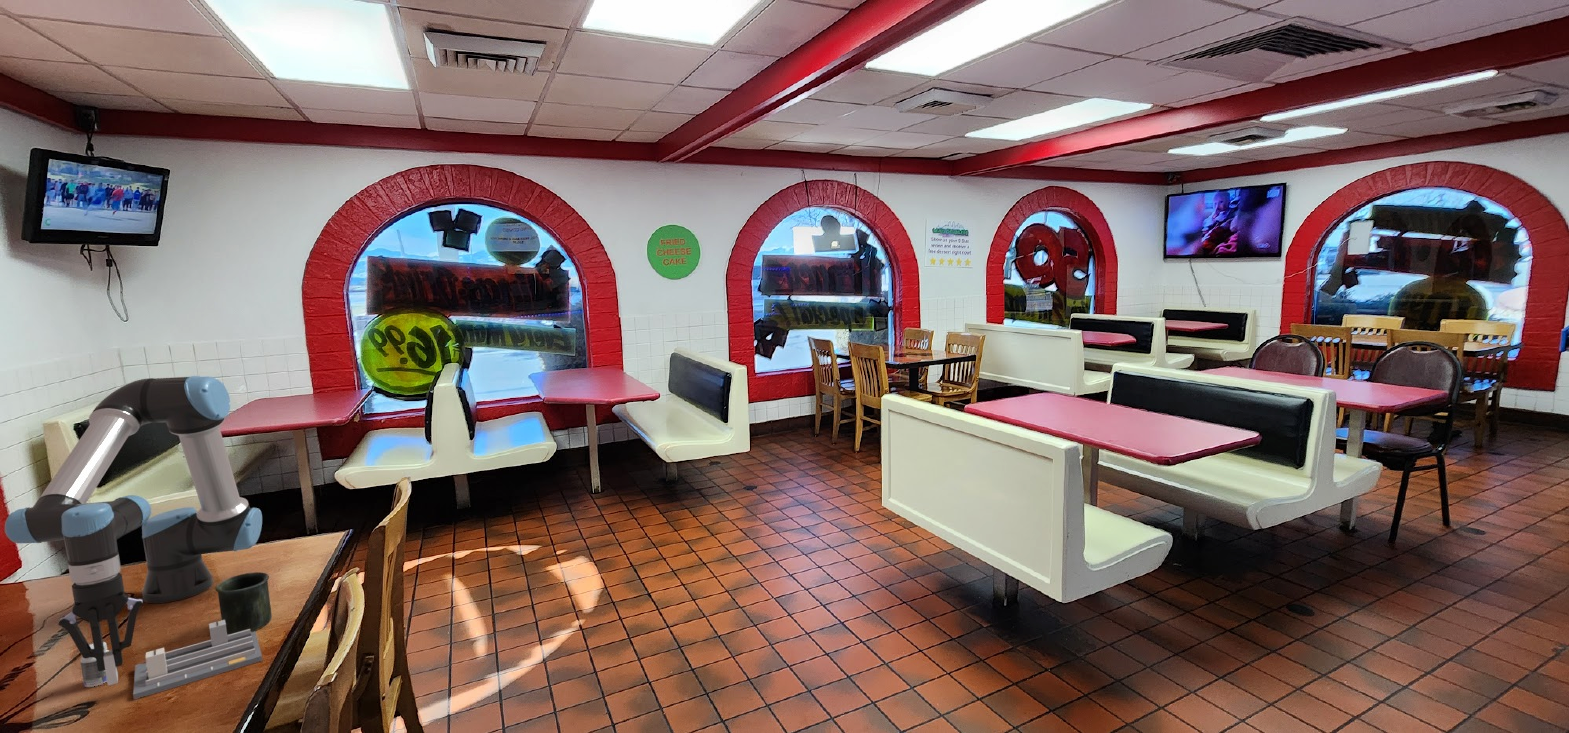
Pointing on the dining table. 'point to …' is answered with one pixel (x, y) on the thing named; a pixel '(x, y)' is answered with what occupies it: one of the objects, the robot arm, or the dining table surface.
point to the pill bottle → (92, 670)
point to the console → (201, 660)
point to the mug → (245, 602)
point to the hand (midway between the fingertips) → (113, 681)
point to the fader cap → (156, 663)
